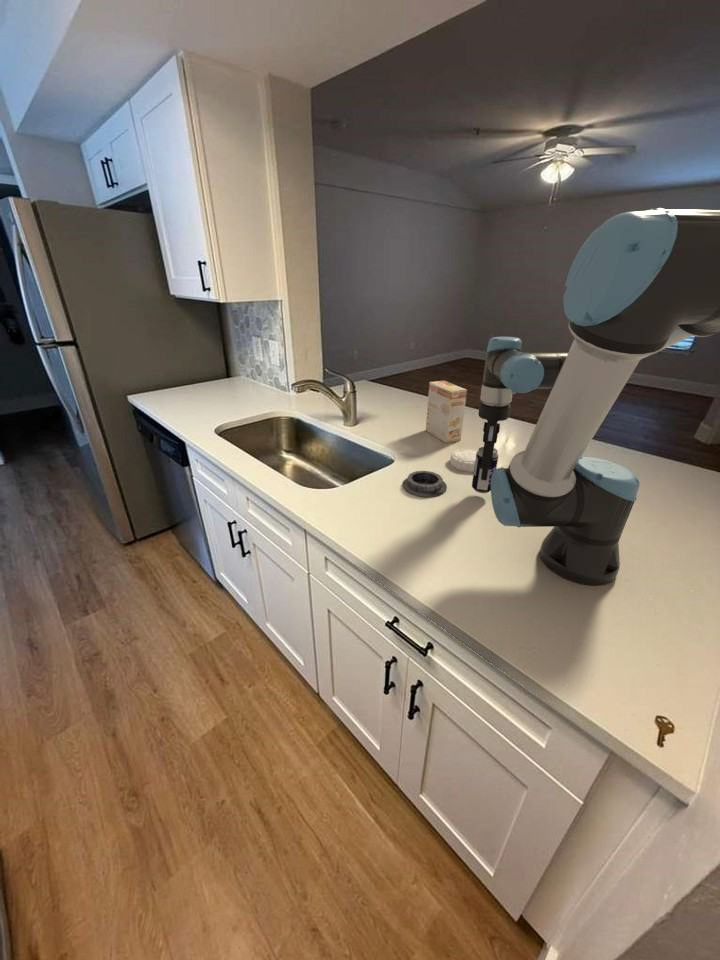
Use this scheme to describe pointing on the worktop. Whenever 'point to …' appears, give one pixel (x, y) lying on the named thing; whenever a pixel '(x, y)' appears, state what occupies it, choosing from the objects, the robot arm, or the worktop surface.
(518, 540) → the worktop surface
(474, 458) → the mooncake
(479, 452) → the beverage can
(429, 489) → the ring collar
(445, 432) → the coffeecake box
